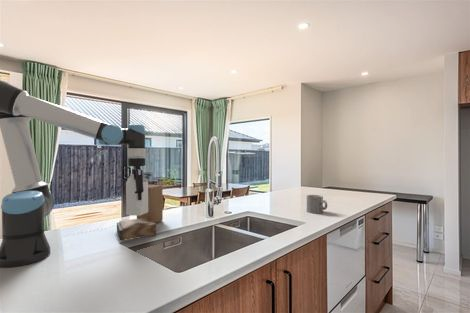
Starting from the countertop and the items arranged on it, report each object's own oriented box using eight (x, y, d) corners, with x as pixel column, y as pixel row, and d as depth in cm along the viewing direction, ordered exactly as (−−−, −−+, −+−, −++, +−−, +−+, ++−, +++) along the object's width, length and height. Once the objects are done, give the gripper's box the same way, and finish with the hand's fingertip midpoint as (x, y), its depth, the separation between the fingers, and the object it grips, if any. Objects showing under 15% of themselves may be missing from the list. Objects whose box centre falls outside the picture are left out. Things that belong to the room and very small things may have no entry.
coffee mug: (303, 211, 166) (303, 195, 166) (314, 209, 171) (314, 194, 171) (319, 215, 155) (319, 198, 155) (330, 213, 160) (330, 197, 160)
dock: (119, 240, 111) (119, 229, 111) (116, 231, 123) (116, 221, 123) (155, 234, 118) (155, 224, 118) (149, 227, 130) (149, 217, 130)
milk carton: (140, 216, 117) (139, 174, 116) (126, 215, 118) (125, 174, 118) (148, 212, 124) (148, 173, 123) (135, 211, 125) (134, 172, 125)
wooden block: (136, 223, 136) (135, 186, 136) (148, 219, 146) (148, 184, 145) (151, 225, 133) (150, 187, 132) (163, 221, 142) (163, 185, 142)
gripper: (150, 158, 112) (150, 208, 113) (140, 157, 132) (141, 200, 132) (131, 158, 109) (132, 210, 109) (125, 157, 128) (125, 201, 129)
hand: (137, 205), depth 121 cm, fingers closed on milk carton, 10 cm apart
